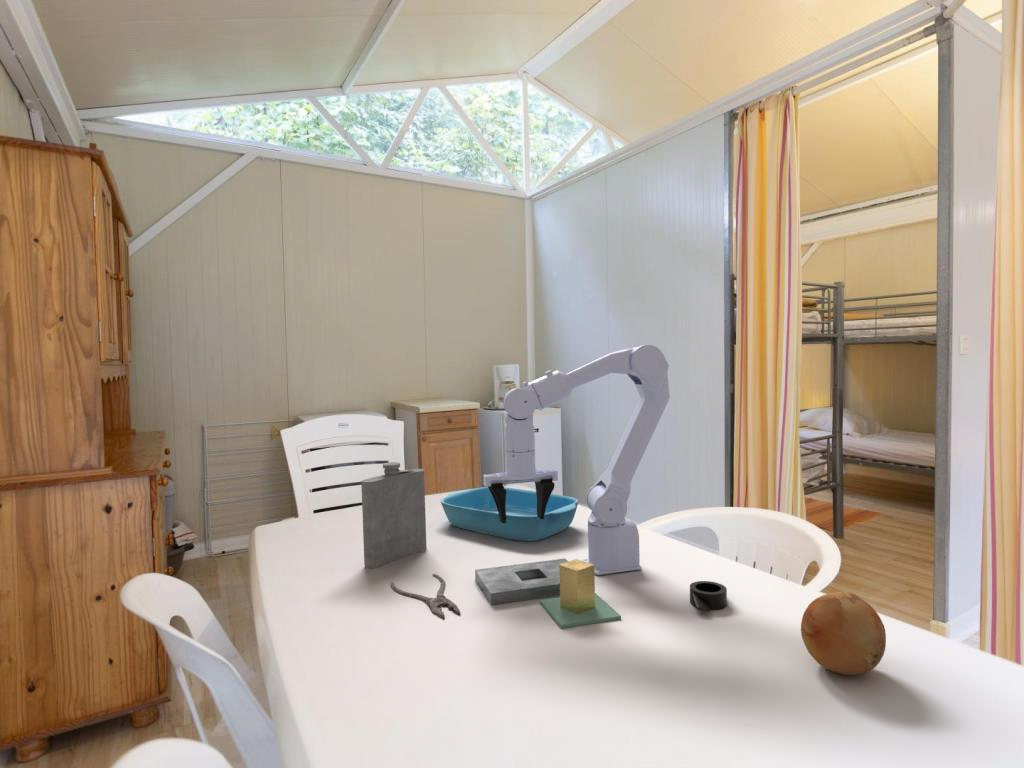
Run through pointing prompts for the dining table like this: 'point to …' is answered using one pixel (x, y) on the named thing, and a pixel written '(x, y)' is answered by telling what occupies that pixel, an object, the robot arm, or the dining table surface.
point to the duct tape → (708, 595)
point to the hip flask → (393, 515)
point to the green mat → (571, 619)
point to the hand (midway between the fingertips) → (521, 519)
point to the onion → (843, 633)
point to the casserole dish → (509, 513)
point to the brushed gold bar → (577, 586)
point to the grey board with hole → (520, 581)
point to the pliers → (433, 599)
